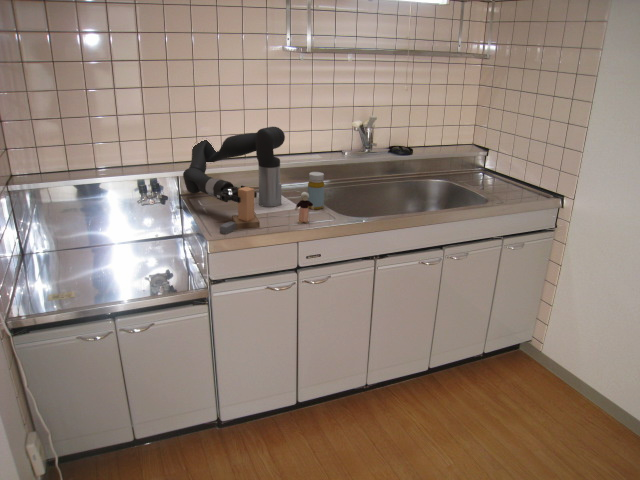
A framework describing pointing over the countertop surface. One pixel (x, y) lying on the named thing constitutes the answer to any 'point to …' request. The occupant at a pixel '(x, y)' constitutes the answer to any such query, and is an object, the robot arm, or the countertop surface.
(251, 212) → the light brown brick
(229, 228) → the charcoal brick
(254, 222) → the walnut block
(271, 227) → the countertop surface
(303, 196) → the grandmother figurine
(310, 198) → the bottle
